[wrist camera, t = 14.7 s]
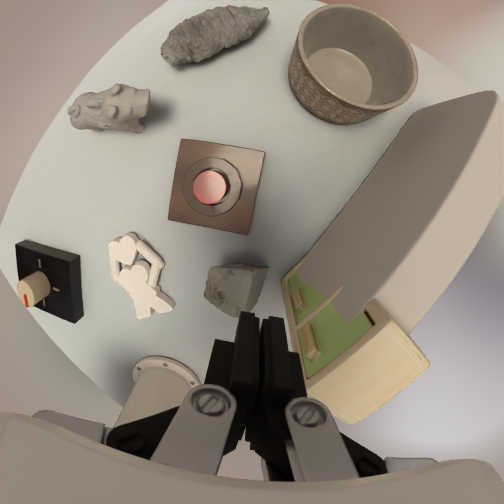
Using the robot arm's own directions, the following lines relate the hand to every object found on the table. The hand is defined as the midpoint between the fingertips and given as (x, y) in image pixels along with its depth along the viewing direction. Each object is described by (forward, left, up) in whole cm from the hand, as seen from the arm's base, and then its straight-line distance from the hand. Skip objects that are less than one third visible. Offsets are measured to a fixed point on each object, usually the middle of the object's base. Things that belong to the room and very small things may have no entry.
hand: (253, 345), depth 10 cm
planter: (+21, -6, -25) cm, 33 cm away
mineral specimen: (-7, +1, -25) cm, 26 cm away
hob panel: (-15, +33, -25) cm, 44 cm away
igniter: (+4, +6, -25) cm, 26 cm away
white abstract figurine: (-10, +15, -25) cm, 31 cm away
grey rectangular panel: (+7, -14, -25) cm, 30 cm away
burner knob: (-15, +33, -22) cm, 42 cm away
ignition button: (+4, +6, -21) cm, 23 cm away
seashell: (+24, +10, -25) cm, 36 cm away
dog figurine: (+12, +20, -25) cm, 34 cm away
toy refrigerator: (-5, -9, -25) cm, 27 cm away
